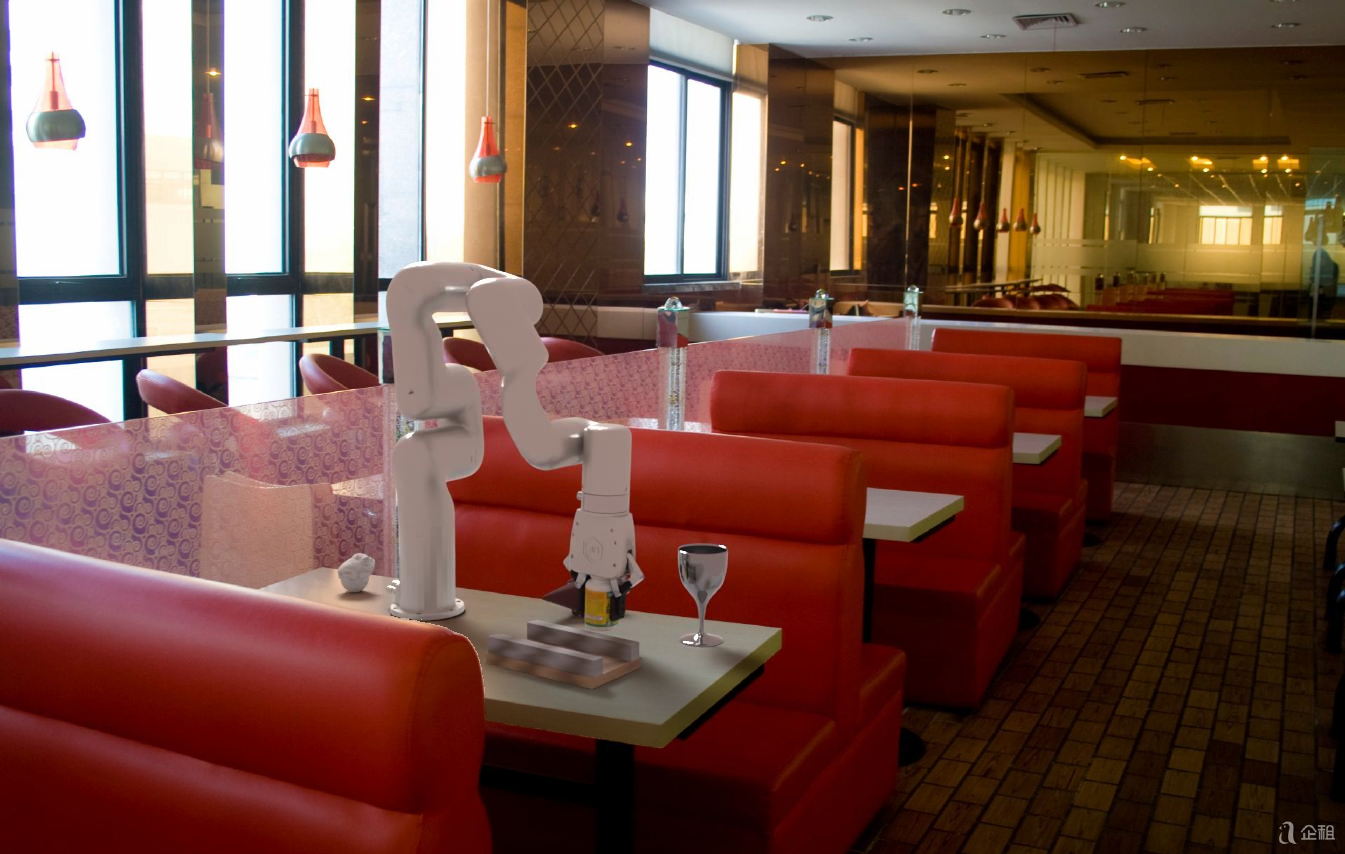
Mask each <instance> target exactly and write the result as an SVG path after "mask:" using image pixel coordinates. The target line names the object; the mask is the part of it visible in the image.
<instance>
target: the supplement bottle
mask: <svg viewBox="0 0 1345 854" xmlns="http://www.w3.org/2000/svg"><path fill="white" fill-rule="evenodd" d="M590 577H591V579H589V580H588V581H587V582H586V586H585V613H584V626H585V627H586V628H587V629H588V630H589V631H593V632H608V631H609V632H610V631H612V630H615V629H617V628H618V624H619V620H616V621H610V619H609V617H610V597H611V596H613V595H614V594H613V589H612V585H611V580H610V579H606V578H601V577H596V576H592V575H590Z"/></svg>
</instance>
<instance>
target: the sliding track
mask: <svg viewBox="0 0 1345 854" xmlns="http://www.w3.org/2000/svg"><path fill="white" fill-rule="evenodd" d="M485 663H486V664H489V665H492V666H493V665H494V666H496V667H497V666H498V667H501V668H505V669H510V670H514V671H517V672H521V673H526V674H530V675H534V676H538V677H542V678H546V679H550V680H553V681H558V682H562V683H566V684H569V685H570V684H571V685H574V686H578V687H583V688H586V689H591V690H593V689H595V688H598V687H600V686H602V685H605V684H607V683H609V682H612V681H614V680H616V679H618V678H620V677H622V676H624V675H626V674H629V673H631V672H634V671H635V670H637V669H640V668H642V657H641V656H640V641H636V640H633V639H632V640H631V639H626V638H622V637H618V636H613V635H608V634H603V633H599V632H596V631H592V630H585V629H581V628H577V627H576V628H575V627H572V626H567V625H562V624H558V623H553V622H548V621H543V620H538V619H533V620H530V621H527V622H526V638H521V637H517V636H511V635H508V634H502V633H498V632H496V633H493V634H490V635H488V636H487V652H485Z"/></svg>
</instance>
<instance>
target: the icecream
mask: <svg viewBox="0 0 1345 854" xmlns="http://www.w3.org/2000/svg"><path fill="white" fill-rule="evenodd" d="M575 583H576V582H575V580H574V579H573V577H572V578H571V579H569V580H567V582H566V585H563V586H561V587H559V588H556V589H555V590H553V591H550V592H549V593H547V594H545V595H543V596H541V599H542V600H543V601H546V602H549V603H551V604H555V605H557V606H561V607H563V608H567V609H570V610H571V613H572V614H573V615H577V616H579V617H583V615H585V613H583V614H581V613H579V612H578V609H579V605H578V595H579V588H577V587H576V585H575Z"/></svg>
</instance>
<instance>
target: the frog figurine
mask: <svg viewBox="0 0 1345 854" xmlns="http://www.w3.org/2000/svg"><path fill="white" fill-rule="evenodd" d="M375 566H376V560H375V559H374V558H373V557H370V556H369V555H367V554H365V553H361V552H359V553H358V552H357V553H354V554H353V555H352V557H350V558H349V559H347V560H346V561H344V562H343V563H342V564H341V565H340V566H339V567H338V568H337V576H338V577H337V578H338V579H340V583H341V586H342V587H343V588H344V589H345V590H346V591H348V592H349V593H359V592H362V591H363V590H364V589H365V588H367V586H368V584H369V580H370V577H371V574H373V572H374V570H375Z"/></svg>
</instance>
